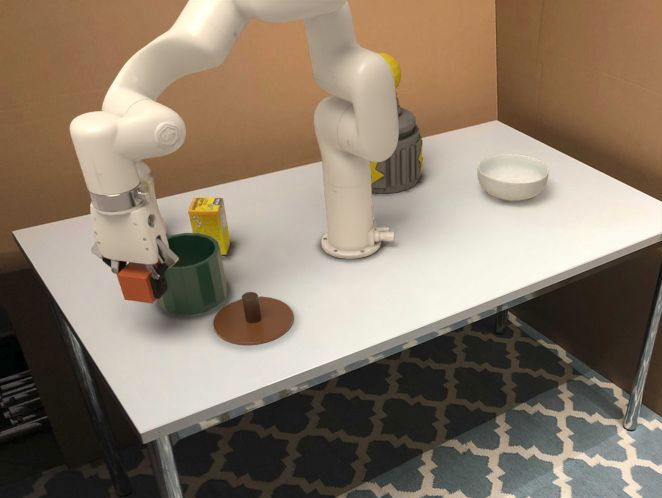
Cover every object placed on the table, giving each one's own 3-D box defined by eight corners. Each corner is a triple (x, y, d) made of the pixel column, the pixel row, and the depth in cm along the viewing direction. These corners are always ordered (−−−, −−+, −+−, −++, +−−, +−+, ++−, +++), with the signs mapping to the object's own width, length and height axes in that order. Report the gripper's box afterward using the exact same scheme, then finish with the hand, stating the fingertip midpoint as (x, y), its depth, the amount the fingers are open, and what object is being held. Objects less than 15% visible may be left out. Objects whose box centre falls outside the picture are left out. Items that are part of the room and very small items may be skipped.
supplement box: (202, 243, 162) (193, 196, 155) (231, 243, 162) (223, 196, 155) (197, 258, 157) (187, 211, 150) (227, 258, 157) (218, 211, 151)
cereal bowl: (557, 191, 187) (561, 164, 183) (525, 218, 176) (527, 190, 171) (498, 172, 194) (500, 146, 189) (462, 197, 183) (464, 169, 178)
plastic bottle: (159, 249, 159) (137, 159, 147) (129, 244, 160) (104, 155, 147) (174, 234, 164) (154, 145, 152) (145, 230, 165) (123, 141, 152)
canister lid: (299, 302, 146) (295, 275, 142) (287, 348, 135) (283, 320, 131) (224, 300, 146) (218, 273, 142) (205, 347, 135) (199, 318, 131)
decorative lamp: (356, 158, 197) (350, 37, 178) (428, 165, 196) (429, 44, 177) (336, 191, 182) (327, 63, 164) (414, 199, 181) (414, 71, 162)
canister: (234, 280, 151) (225, 233, 145) (219, 317, 142) (210, 269, 135) (169, 278, 151) (158, 232, 144) (150, 316, 141) (137, 268, 134)
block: (167, 286, 131) (160, 262, 127) (152, 303, 127) (145, 278, 124) (139, 283, 131) (132, 258, 128) (124, 299, 127) (116, 274, 124)
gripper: (180, 189, 119) (203, 286, 131) (80, 177, 121) (111, 273, 133) (156, 213, 113) (182, 311, 125) (51, 200, 116) (86, 298, 127)
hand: (145, 291), depth 129 cm, fingers closed on block, 5 cm apart
